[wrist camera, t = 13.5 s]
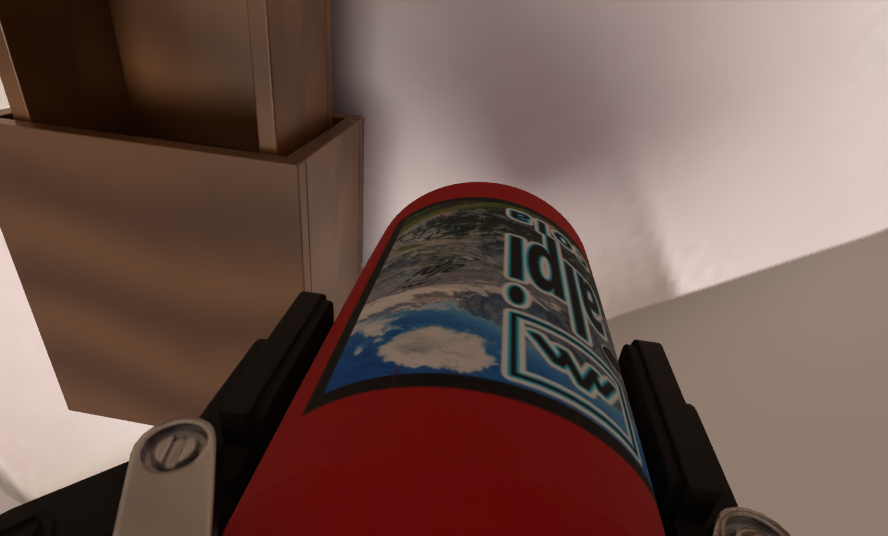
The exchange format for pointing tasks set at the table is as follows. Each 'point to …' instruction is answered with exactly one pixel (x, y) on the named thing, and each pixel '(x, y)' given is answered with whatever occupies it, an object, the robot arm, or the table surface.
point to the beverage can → (461, 391)
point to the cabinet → (171, 254)
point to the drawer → (173, 69)
